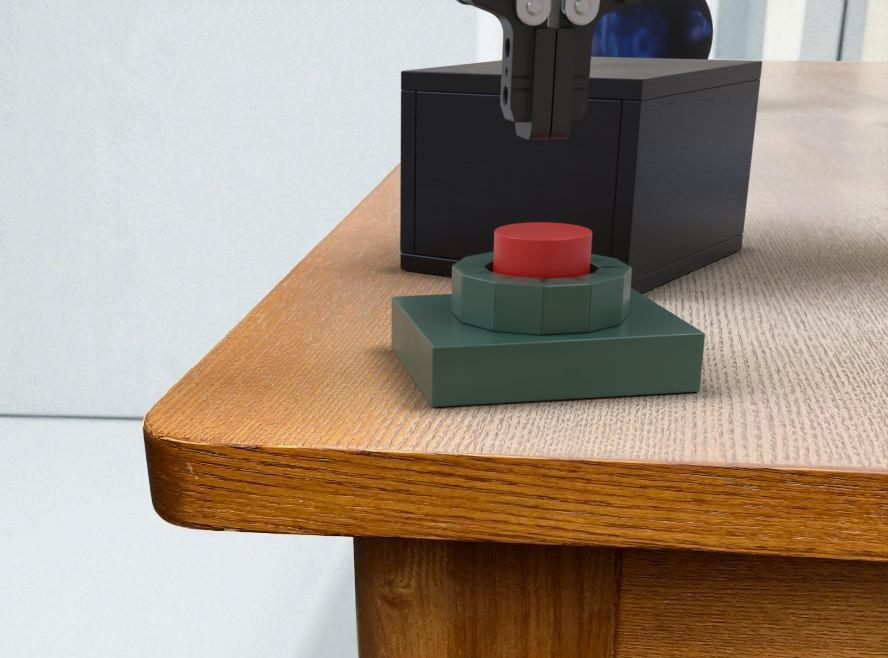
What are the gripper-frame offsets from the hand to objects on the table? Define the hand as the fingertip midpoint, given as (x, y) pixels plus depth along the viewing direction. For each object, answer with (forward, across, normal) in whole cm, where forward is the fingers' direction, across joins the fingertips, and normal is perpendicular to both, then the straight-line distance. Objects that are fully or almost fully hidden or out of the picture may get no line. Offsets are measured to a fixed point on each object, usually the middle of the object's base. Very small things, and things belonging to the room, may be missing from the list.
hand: (541, 136), depth 46 cm
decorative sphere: (+8, -41, -100) cm, 108 cm away
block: (+9, 0, 0) cm, 9 cm away
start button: (+5, 0, 0) cm, 5 cm away
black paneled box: (+9, -8, -20) cm, 23 cm away
